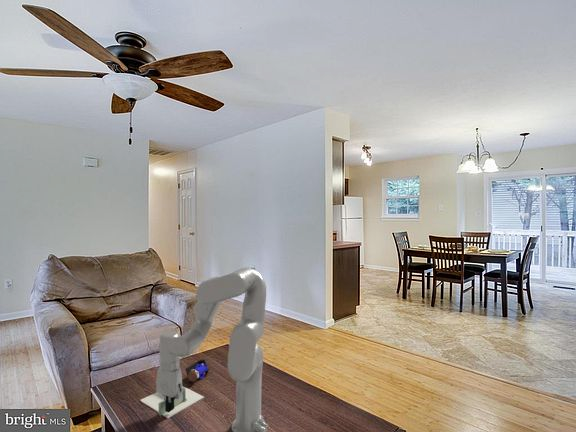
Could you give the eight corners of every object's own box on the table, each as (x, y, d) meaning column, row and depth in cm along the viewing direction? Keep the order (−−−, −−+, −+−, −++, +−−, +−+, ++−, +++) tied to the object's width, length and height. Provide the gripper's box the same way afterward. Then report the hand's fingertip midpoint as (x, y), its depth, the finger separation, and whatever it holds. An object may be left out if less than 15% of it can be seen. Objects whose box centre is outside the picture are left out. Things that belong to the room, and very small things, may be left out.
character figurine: (213, 373, 166) (193, 387, 152) (202, 369, 169) (181, 383, 155) (214, 358, 165) (194, 371, 152) (203, 354, 168) (182, 367, 155)
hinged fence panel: (183, 398, 141) (183, 387, 141) (186, 399, 141) (186, 388, 141) (158, 414, 130) (158, 403, 130) (160, 415, 129) (160, 404, 129)
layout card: (204, 397, 143) (204, 396, 143) (167, 418, 129) (167, 417, 129) (176, 383, 155) (176, 382, 155) (140, 401, 140) (140, 399, 140)
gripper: (148, 364, 130) (148, 410, 131) (176, 372, 124) (176, 420, 124) (163, 357, 137) (163, 400, 137) (190, 364, 130) (190, 410, 131)
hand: (169, 410), depth 131 cm, fingers closed
